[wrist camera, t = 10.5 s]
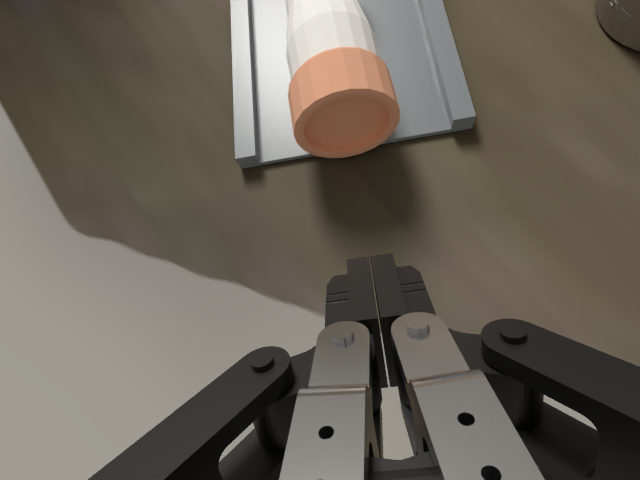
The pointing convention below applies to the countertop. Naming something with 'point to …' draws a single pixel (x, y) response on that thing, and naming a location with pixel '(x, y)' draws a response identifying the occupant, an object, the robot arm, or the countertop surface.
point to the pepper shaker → (337, 80)
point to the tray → (394, 49)
